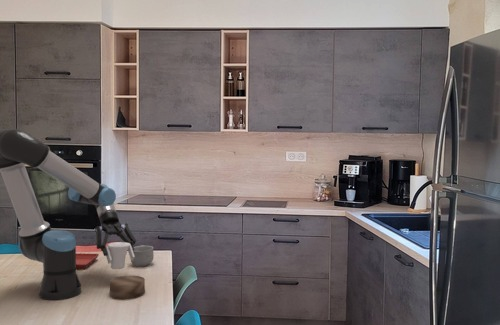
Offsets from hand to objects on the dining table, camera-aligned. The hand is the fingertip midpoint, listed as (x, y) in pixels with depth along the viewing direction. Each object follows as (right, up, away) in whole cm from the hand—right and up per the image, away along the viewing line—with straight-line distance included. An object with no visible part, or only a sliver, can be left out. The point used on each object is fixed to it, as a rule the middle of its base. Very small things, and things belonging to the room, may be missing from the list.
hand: (121, 260), depth 203 cm
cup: (-2, -4, +3) cm, 5 cm away
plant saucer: (-30, -8, +29) cm, 42 cm away
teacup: (+2, -8, +30) cm, 32 cm away
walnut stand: (+5, -11, -11) cm, 16 cm away
